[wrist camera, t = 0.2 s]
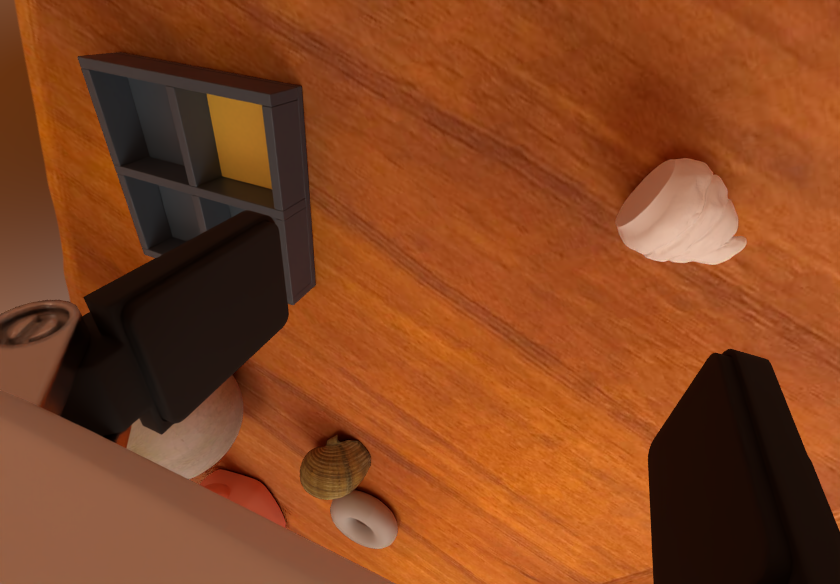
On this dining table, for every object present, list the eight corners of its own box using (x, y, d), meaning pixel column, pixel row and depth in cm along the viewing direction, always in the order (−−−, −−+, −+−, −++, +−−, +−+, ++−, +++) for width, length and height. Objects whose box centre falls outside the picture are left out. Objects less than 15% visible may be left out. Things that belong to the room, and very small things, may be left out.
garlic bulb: (688, 266, 27) (699, 314, 23) (609, 212, 27) (606, 251, 23) (770, 199, 24) (801, 241, 19) (679, 137, 24) (691, 167, 20)
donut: (339, 510, 65) (398, 540, 62) (326, 531, 62) (388, 564, 59) (338, 473, 59) (404, 505, 56) (324, 495, 56) (393, 530, 54)
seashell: (359, 410, 56) (298, 424, 52) (383, 452, 51) (317, 471, 47) (347, 461, 60) (290, 478, 56) (368, 505, 55) (307, 527, 51)
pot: (199, 476, 79) (140, 542, 69) (222, 446, 68) (156, 519, 58) (278, 537, 80) (230, 610, 71) (313, 517, 69) (263, 600, 60)
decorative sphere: (283, 381, 52) (184, 490, 40) (252, 429, 61) (165, 528, 50) (182, 303, 51) (52, 392, 39) (167, 364, 61) (59, 450, 49)
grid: (120, 52, 35) (76, 56, 32) (302, 86, 31) (269, 94, 28) (173, 239, 45) (144, 254, 43) (316, 285, 41) (293, 305, 38)
